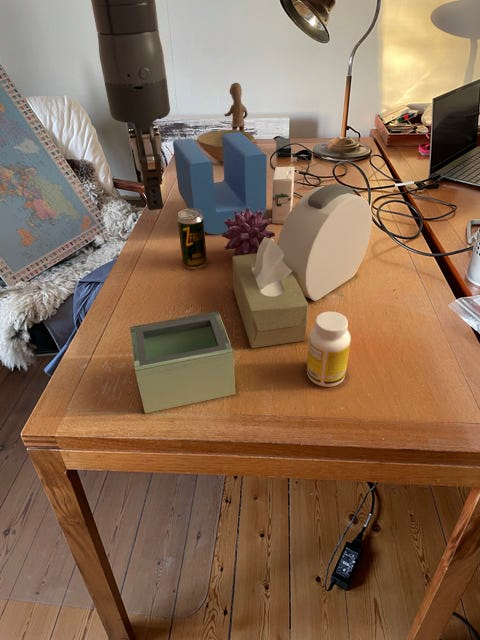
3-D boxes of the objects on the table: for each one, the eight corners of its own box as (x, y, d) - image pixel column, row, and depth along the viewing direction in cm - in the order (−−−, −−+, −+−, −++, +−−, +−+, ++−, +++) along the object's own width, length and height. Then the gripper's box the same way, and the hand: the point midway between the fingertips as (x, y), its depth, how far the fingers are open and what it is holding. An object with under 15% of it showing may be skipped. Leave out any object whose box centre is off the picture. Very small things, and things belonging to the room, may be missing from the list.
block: (243, 198, 128) (241, 131, 117) (266, 225, 115) (266, 153, 104) (180, 208, 124) (172, 140, 113) (196, 238, 111) (189, 164, 100)
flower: (219, 272, 101) (229, 237, 109) (273, 274, 99) (279, 238, 106) (211, 231, 93) (222, 196, 100) (270, 232, 90) (277, 196, 98)
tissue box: (306, 342, 80) (312, 264, 70) (251, 350, 79) (250, 272, 69) (279, 283, 94) (281, 212, 85) (233, 289, 93) (229, 218, 83)
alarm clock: (336, 256, 102) (348, 168, 90) (364, 268, 98) (381, 178, 86) (272, 294, 90) (277, 198, 78) (302, 310, 86) (311, 211, 74)
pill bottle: (347, 365, 75) (356, 312, 68) (341, 392, 71) (350, 338, 64) (310, 357, 77) (315, 304, 70) (302, 383, 72) (306, 329, 65)
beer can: (179, 260, 103) (173, 211, 95) (202, 255, 104) (198, 206, 97) (187, 272, 99) (181, 221, 91) (210, 266, 100) (206, 216, 93)
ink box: (274, 209, 122) (275, 165, 115) (292, 209, 122) (294, 165, 114) (271, 223, 115) (271, 178, 108) (291, 224, 115) (293, 178, 107)
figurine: (243, 139, 169) (241, 79, 157) (254, 144, 164) (253, 83, 152) (222, 144, 166) (219, 83, 153) (233, 149, 161) (231, 87, 148)
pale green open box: (139, 368, 76) (144, 413, 68) (129, 326, 70) (134, 370, 63) (221, 352, 78) (235, 394, 71) (218, 310, 73) (233, 351, 65)
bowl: (252, 150, 159) (252, 126, 154) (256, 169, 145) (256, 144, 140) (199, 153, 159) (197, 129, 154) (198, 172, 145) (196, 147, 140)
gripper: (101, 67, 60) (126, 193, 71) (105, 88, 50) (132, 232, 61) (159, 63, 61) (174, 187, 72) (173, 82, 51) (188, 224, 62)
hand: (155, 207), depth 66 cm, fingers closed
